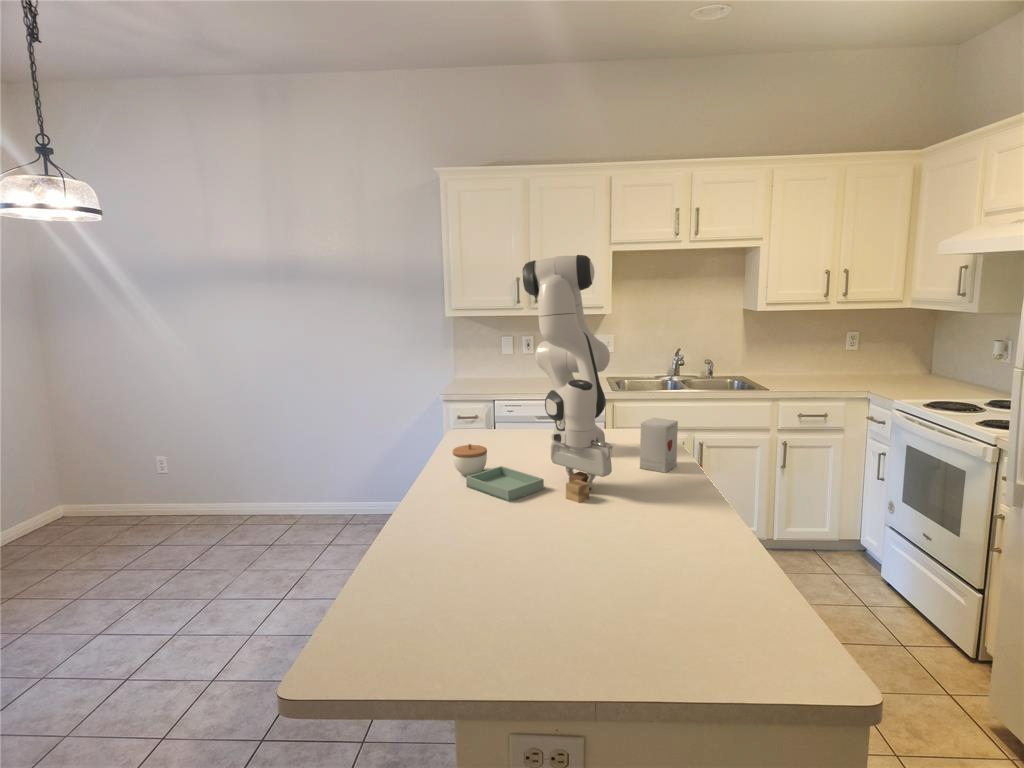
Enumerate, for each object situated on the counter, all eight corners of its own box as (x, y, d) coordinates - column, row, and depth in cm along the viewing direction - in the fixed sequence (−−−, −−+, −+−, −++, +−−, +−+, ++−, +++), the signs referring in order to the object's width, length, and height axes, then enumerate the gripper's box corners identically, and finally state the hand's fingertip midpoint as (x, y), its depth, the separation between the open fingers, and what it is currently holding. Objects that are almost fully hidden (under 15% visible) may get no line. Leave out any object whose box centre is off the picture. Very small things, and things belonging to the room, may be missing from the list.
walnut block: (579, 486, 190) (579, 471, 189) (591, 489, 186) (591, 474, 186) (569, 489, 187) (569, 474, 186) (581, 493, 183) (581, 478, 183)
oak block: (576, 494, 183) (576, 479, 182) (588, 498, 180) (589, 483, 179) (565, 499, 180) (565, 483, 179) (578, 503, 177) (578, 487, 176)
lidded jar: (489, 468, 208) (488, 440, 207) (485, 479, 198) (484, 449, 196) (456, 467, 209) (455, 439, 208) (450, 478, 199) (449, 449, 197)
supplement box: (665, 473, 200) (666, 426, 197) (638, 468, 205) (639, 422, 202) (677, 466, 207) (678, 420, 204) (651, 461, 212) (652, 416, 209)
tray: (501, 475, 200) (501, 466, 200) (543, 489, 188) (543, 479, 187) (466, 486, 191) (466, 476, 190) (508, 501, 178) (508, 491, 178)
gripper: (616, 442, 178) (616, 490, 181) (561, 429, 193) (561, 474, 196) (602, 446, 174) (601, 495, 177) (547, 433, 189) (547, 479, 191)
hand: (580, 484), depth 186 cm, fingers closed on walnut block, 4 cm apart
